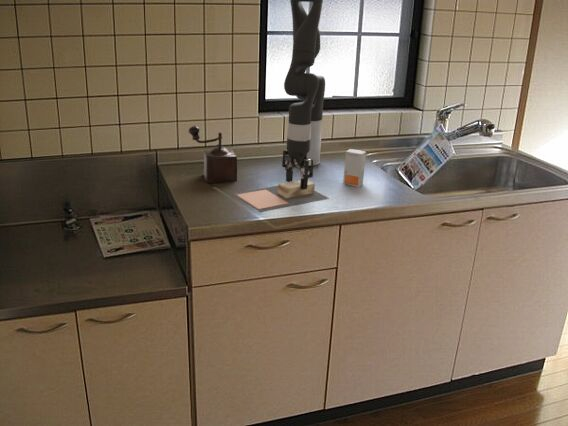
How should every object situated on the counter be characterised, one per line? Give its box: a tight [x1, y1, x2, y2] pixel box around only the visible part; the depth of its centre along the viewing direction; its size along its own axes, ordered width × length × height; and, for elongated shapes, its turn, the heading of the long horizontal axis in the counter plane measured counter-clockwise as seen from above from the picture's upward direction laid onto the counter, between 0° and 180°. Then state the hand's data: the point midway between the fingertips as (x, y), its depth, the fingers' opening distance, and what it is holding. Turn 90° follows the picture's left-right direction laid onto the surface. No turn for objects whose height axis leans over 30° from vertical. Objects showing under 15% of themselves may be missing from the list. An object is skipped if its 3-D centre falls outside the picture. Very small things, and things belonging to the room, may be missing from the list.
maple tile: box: [277, 179, 316, 198], centre depth 198 cm, size 11×5×3 cm, turn 123°
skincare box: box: [342, 148, 367, 188], centre depth 209 cm, size 6×4×12 cm
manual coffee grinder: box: [188, 125, 238, 185], centre depth 208 cm, size 16×11×18 cm
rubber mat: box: [232, 185, 330, 213], centre depth 196 cm, size 18×26×1 cm
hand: (296, 185), depth 197 cm, fingers open, 8 cm apart
